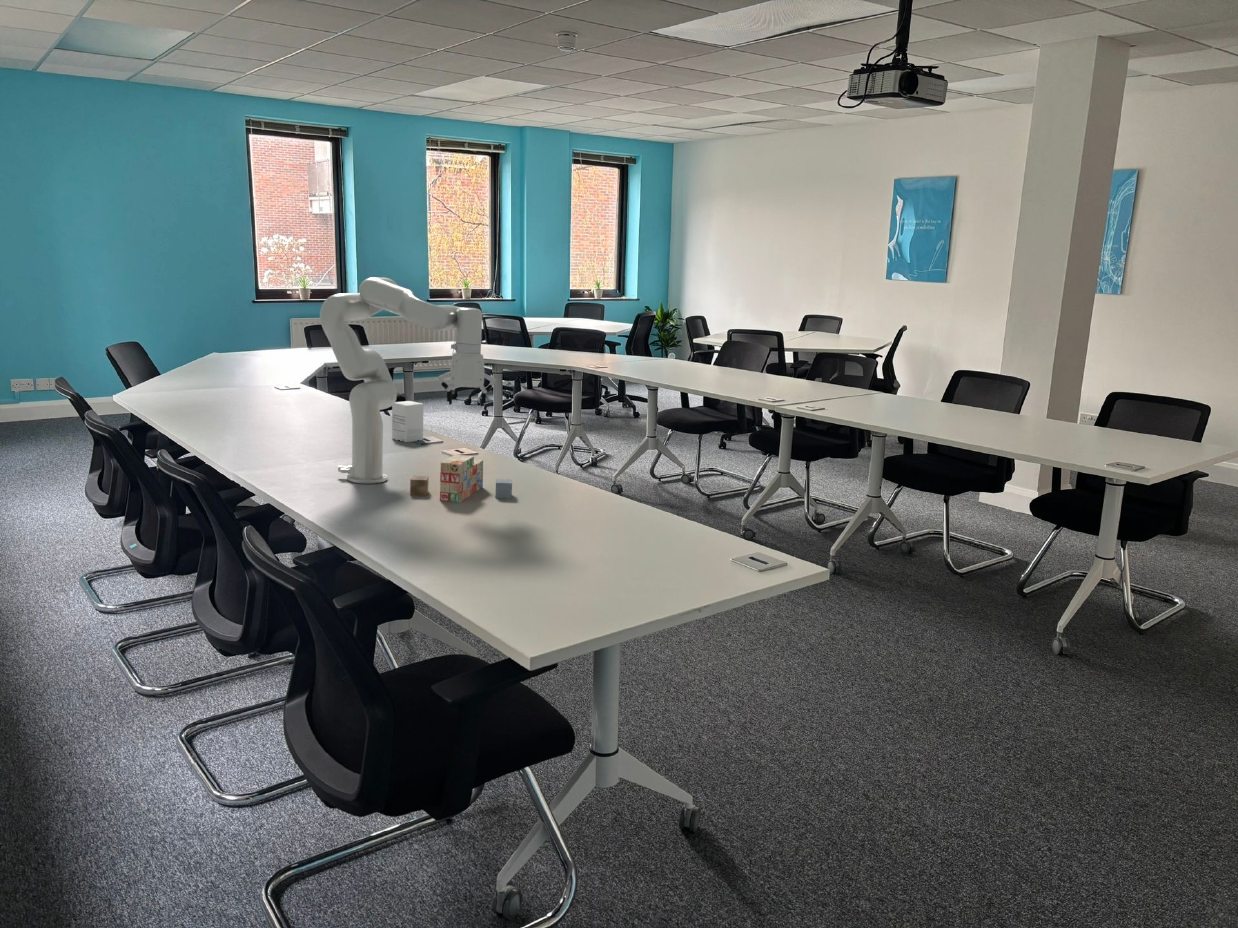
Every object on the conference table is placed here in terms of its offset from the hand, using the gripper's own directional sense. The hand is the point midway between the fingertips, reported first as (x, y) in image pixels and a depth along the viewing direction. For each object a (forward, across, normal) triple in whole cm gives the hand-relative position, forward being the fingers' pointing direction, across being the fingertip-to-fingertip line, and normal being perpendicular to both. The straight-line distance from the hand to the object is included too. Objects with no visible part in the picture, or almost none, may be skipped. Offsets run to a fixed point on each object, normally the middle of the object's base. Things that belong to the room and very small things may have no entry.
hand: (466, 404), depth 272 cm
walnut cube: (+28, -13, -1) cm, 31 cm away
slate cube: (+28, +13, -2) cm, 31 cm away
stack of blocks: (+28, 0, 0) cm, 29 cm away
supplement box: (+29, -25, +83) cm, 91 cm away
